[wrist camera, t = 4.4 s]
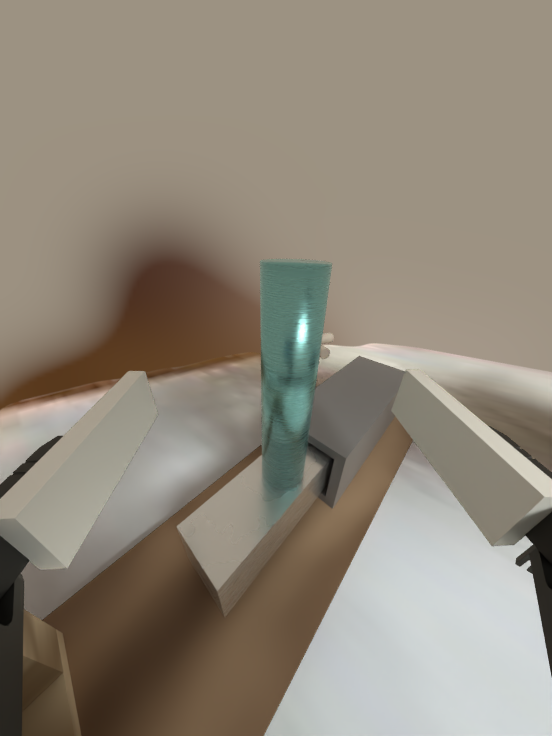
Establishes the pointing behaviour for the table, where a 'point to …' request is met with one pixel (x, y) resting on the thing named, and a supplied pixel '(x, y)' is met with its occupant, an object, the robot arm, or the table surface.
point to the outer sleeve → (352, 418)
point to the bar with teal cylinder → (269, 440)
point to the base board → (212, 619)
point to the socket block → (46, 682)
